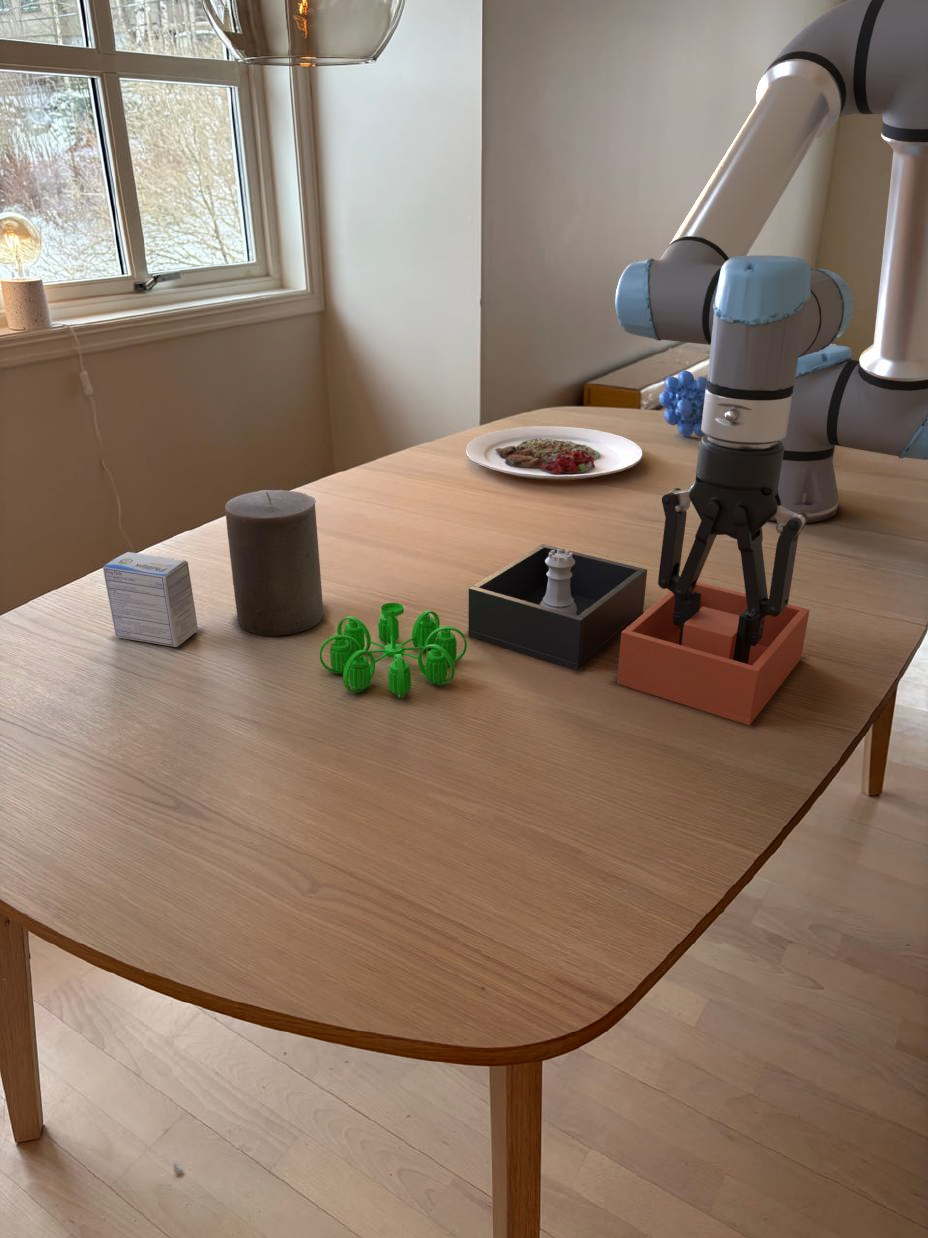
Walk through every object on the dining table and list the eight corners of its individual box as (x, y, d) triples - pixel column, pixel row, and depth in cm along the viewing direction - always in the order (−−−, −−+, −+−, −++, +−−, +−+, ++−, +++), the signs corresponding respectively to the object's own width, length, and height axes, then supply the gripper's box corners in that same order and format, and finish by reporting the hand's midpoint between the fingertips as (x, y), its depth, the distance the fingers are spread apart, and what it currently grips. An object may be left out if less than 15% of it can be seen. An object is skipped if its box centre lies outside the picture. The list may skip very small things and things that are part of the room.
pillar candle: (251, 644, 102) (236, 512, 96) (227, 609, 110) (212, 485, 104) (336, 625, 106) (328, 497, 100) (307, 593, 114) (298, 472, 108)
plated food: (548, 427, 182) (549, 409, 181) (677, 461, 162) (679, 441, 161) (430, 457, 164) (429, 438, 163) (558, 500, 144) (559, 479, 143)
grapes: (647, 437, 176) (653, 371, 171) (660, 429, 181) (666, 365, 176) (709, 446, 171) (717, 379, 165) (720, 437, 176) (728, 372, 171)
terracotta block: (697, 649, 100) (702, 606, 98) (743, 662, 97) (750, 618, 95) (678, 667, 96) (683, 623, 94) (725, 682, 94) (732, 636, 91)
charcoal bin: (540, 587, 116) (542, 543, 113) (643, 616, 109) (647, 569, 106) (468, 636, 104) (468, 588, 102) (577, 671, 97) (581, 620, 95)
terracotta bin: (679, 625, 107) (684, 578, 104) (800, 659, 100) (809, 609, 97) (616, 683, 95) (621, 632, 92) (749, 725, 88) (758, 671, 86)
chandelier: (454, 629, 105) (454, 572, 102) (479, 699, 92) (480, 635, 89) (318, 640, 103) (313, 582, 100) (324, 713, 90) (319, 648, 87)
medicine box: (199, 631, 105) (189, 559, 101) (176, 649, 101) (165, 575, 97) (139, 621, 107) (127, 550, 103) (114, 638, 104) (100, 565, 100)
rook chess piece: (575, 630, 104) (579, 562, 100) (534, 626, 104) (537, 559, 101) (579, 612, 108) (583, 547, 104) (539, 609, 108) (542, 544, 105)
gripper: (633, 431, 88) (615, 652, 99) (831, 465, 79) (788, 704, 89) (666, 415, 94) (646, 625, 104) (855, 444, 85) (812, 672, 95)
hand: (712, 661), depth 97 cm, fingers closed on terracotta block, 5 cm apart
